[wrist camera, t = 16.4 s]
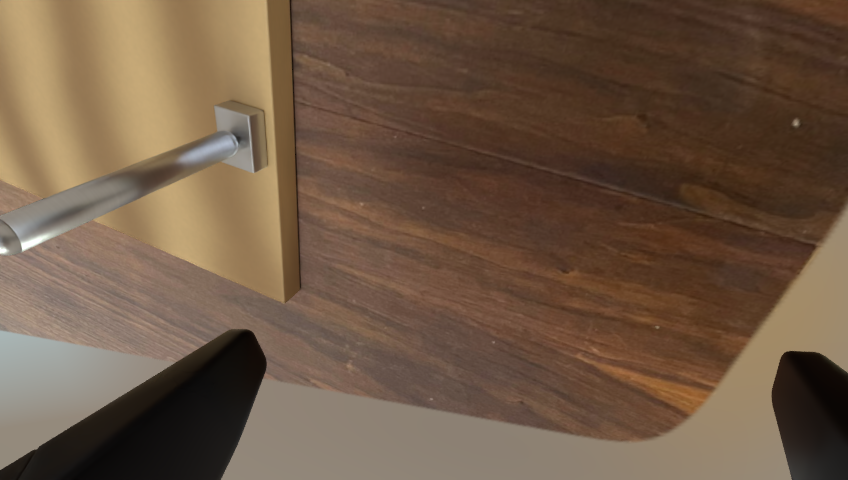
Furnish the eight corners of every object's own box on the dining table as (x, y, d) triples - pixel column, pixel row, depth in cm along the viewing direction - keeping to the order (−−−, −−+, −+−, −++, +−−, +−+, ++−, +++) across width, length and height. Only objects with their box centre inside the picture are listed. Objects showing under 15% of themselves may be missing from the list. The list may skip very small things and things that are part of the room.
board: (286, -126, 18) (258, -131, 17) (300, 290, 29) (284, 304, 28) (-253, -191, 29) (-292, -197, 28) (-95, 123, 40) (-118, 129, 39)
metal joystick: (229, 99, 22) (-58, 192, 13) (264, 109, 21) (-12, 214, 13) (235, 155, 24) (-19, 271, 15) (268, 166, 23) (24, 293, 14)
